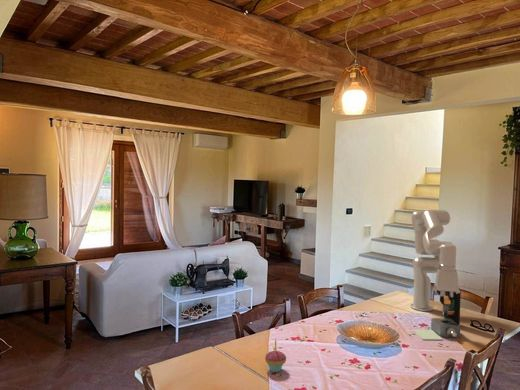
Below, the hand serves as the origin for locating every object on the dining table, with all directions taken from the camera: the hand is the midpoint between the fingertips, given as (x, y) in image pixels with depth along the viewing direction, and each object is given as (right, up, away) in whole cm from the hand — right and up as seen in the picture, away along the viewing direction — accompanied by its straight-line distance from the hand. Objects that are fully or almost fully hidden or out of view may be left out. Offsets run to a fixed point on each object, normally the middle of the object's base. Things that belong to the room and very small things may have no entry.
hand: (445, 303), depth 196 cm
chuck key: (0, -6, +1) cm, 6 cm away
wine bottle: (+10, -15, +13) cm, 22 cm away
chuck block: (0, -15, -2) cm, 16 cm away
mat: (-11, -15, -3) cm, 19 cm away
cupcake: (-89, -15, -42) cm, 99 cm away
